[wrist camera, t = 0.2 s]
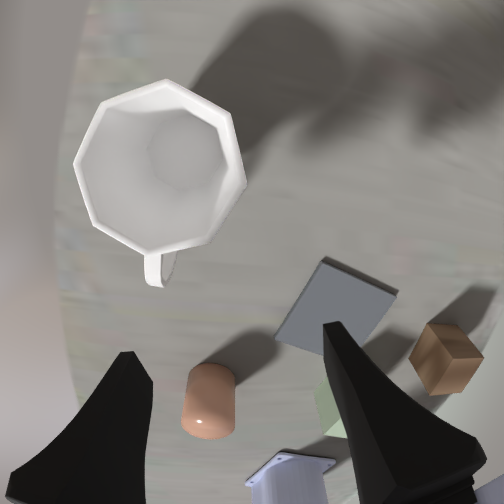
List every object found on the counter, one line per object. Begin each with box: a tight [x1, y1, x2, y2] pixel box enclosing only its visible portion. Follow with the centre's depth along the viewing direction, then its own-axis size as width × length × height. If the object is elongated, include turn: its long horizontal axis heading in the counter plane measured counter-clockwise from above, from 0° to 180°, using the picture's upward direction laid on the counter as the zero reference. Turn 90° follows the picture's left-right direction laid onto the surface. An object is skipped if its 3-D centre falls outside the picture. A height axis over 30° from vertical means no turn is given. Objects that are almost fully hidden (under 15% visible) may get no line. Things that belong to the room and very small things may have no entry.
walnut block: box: [408, 323, 484, 396], centre depth 23 cm, size 4×4×5 cm
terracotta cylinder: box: [181, 363, 235, 439], centre depth 24 cm, size 4×4×5 cm
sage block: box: [314, 377, 347, 438], centre depth 25 cm, size 4×4×5 cm
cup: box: [73, 79, 248, 287], centre depth 16 cm, size 7×10×8 cm
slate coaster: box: [274, 261, 397, 356], centre depth 24 cm, size 7×7×1 cm
